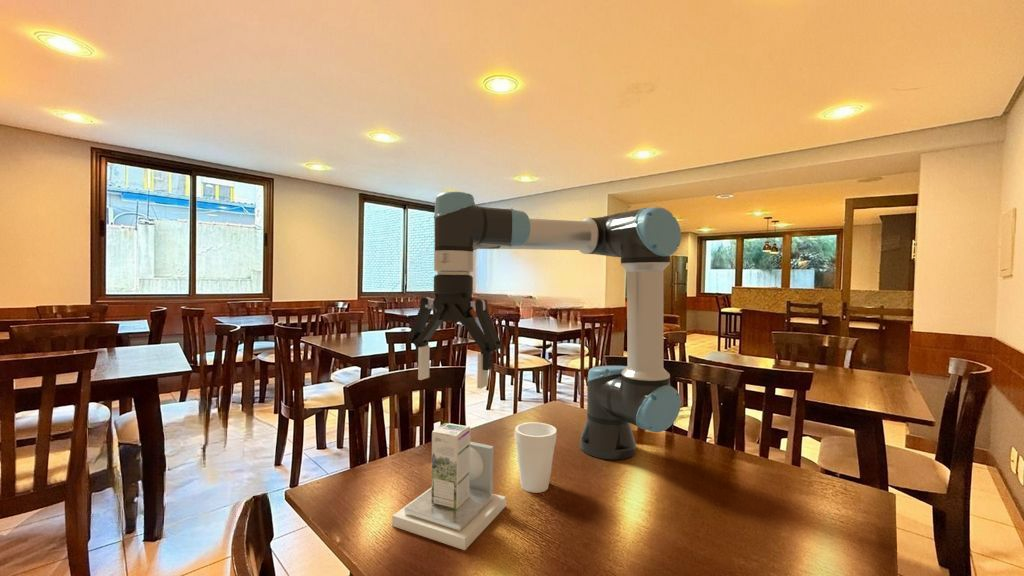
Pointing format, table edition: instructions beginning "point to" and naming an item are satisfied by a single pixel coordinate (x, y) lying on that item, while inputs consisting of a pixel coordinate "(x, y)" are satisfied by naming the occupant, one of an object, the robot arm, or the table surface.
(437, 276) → the robot arm
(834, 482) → the table surface
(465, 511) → the scale pan
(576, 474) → the table surface
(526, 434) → the foam cup
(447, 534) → the scale base
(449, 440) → the syrup box
